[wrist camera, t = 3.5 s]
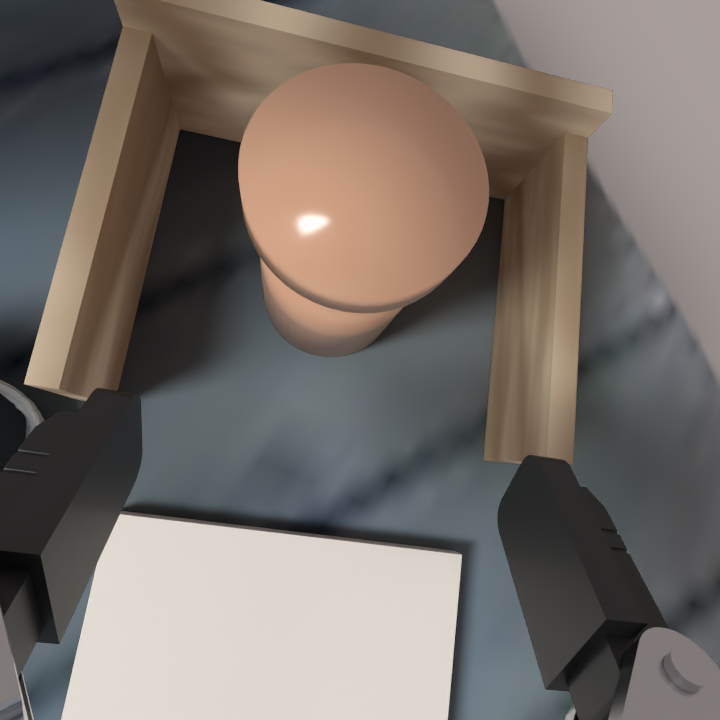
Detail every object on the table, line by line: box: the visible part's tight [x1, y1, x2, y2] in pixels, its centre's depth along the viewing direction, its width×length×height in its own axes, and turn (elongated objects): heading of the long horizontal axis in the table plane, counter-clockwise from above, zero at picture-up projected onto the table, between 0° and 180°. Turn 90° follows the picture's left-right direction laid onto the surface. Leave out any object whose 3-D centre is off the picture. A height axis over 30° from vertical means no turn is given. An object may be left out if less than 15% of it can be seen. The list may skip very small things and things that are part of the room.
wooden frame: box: [24, 0, 613, 465], centre depth 20 cm, size 18×14×7 cm
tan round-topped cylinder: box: [238, 63, 489, 357], centre depth 18 cm, size 7×7×10 cm
